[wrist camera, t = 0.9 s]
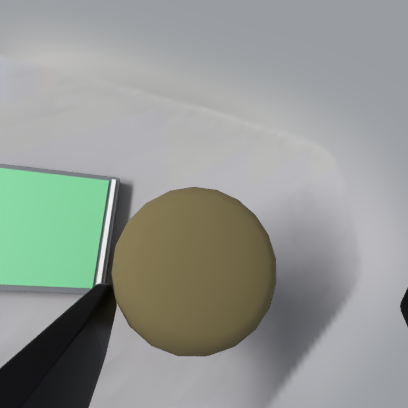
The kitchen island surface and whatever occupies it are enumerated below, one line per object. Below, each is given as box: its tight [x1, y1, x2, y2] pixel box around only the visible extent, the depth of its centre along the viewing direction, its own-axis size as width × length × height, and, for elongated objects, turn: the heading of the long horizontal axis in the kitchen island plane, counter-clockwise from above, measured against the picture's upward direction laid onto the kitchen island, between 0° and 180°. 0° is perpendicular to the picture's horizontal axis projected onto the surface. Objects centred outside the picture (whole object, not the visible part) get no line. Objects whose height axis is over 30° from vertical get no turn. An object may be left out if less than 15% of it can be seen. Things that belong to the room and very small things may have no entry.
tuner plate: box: [0, 164, 120, 294], centre depth 17 cm, size 7×7×1 cm
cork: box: [111, 187, 276, 356], centre depth 13 cm, size 6×6×11 cm
